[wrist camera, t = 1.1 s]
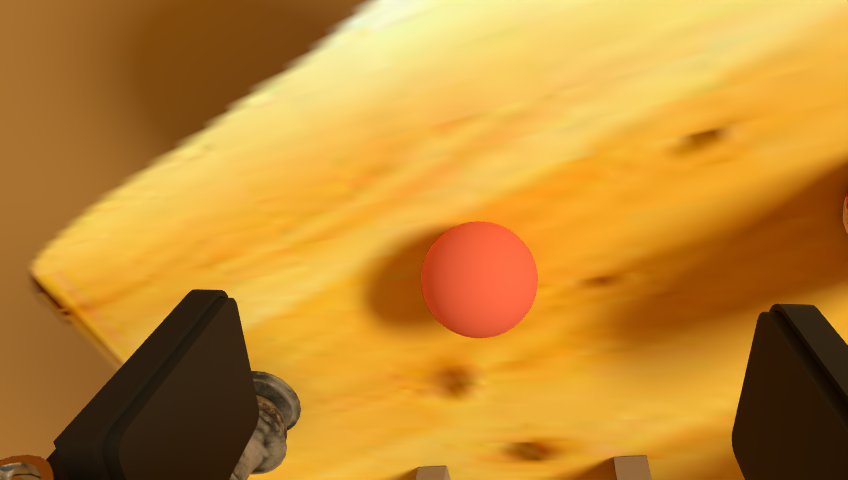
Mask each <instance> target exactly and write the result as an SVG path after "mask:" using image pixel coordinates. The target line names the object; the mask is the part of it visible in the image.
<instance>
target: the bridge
mask: <svg viewBox="0 0 848 480" xmlns="http://www.w3.org/2000/svg"><path fill="white" fill-rule="evenodd" d="M614 464H615V471H616V478H617V480H652V479H651V474H650V470H649V465H648V461H647V456H627V457H614ZM415 480H450V477H449V473H448V470H447V466H433V467H418V470H417V475H416V479H415Z"/></svg>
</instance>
